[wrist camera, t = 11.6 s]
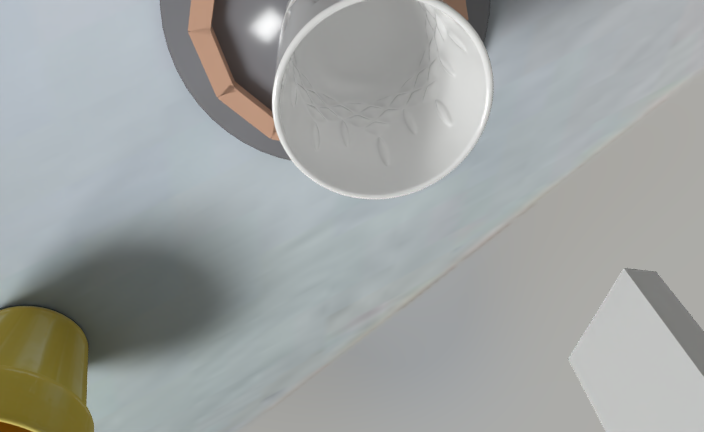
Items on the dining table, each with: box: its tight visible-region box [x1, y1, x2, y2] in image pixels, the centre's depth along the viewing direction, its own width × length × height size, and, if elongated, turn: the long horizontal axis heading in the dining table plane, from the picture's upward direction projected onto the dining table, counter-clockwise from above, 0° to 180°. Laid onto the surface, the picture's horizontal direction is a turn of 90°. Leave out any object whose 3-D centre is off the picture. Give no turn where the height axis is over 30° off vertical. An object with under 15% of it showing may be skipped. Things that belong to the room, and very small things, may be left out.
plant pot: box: [0, 306, 94, 432], centre depth 35 cm, size 10×10×10 cm
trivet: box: [160, 0, 490, 161], centre depth 29 cm, size 16×16×1 cm
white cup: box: [272, 0, 493, 199], centre depth 25 cm, size 8×8×10 cm
